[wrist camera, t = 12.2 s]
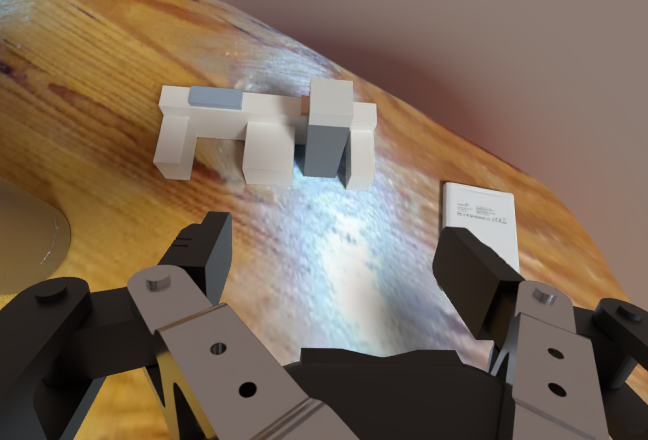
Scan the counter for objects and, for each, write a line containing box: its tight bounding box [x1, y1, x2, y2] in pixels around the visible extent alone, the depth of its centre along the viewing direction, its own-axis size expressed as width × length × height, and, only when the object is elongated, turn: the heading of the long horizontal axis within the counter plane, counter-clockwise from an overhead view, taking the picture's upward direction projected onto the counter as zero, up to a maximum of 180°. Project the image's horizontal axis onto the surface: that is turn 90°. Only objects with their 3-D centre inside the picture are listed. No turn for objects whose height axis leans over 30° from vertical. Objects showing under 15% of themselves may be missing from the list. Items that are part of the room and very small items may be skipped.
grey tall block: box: [304, 78, 354, 178], centre depth 32 cm, size 4×4×11 cm
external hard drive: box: [441, 182, 519, 291], centre depth 36 cm, size 2×8×12 cm
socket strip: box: [153, 85, 377, 191], centre depth 35 cm, size 22×8×6 cm, turn 89°
